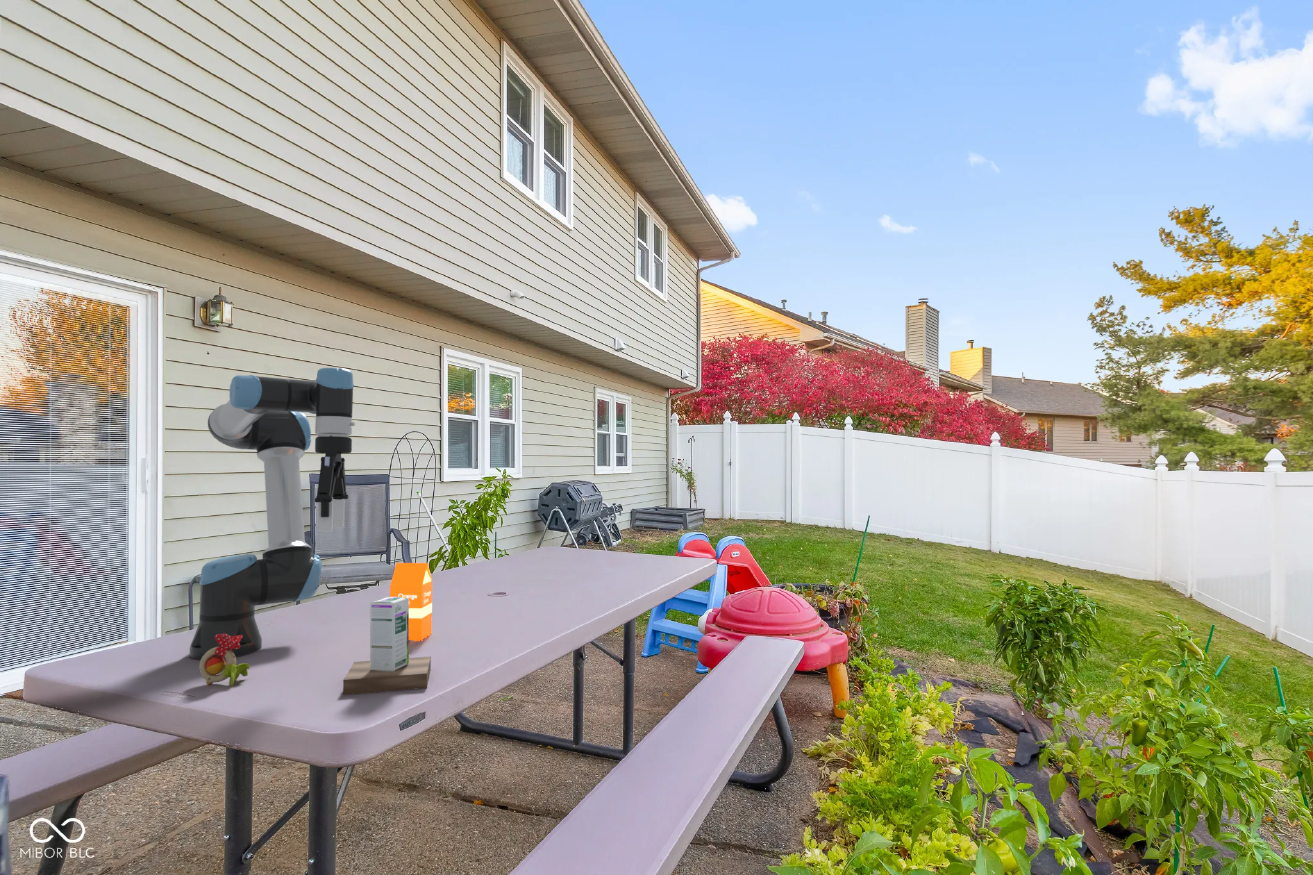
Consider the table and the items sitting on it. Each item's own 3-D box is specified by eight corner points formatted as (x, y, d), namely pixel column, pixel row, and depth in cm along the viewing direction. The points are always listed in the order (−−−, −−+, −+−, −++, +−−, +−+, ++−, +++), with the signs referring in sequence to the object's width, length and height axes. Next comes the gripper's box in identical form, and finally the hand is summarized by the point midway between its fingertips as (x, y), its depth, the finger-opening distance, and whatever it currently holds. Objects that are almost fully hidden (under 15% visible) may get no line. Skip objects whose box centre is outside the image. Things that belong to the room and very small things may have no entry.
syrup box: (394, 672, 140) (395, 602, 140) (368, 670, 141) (370, 601, 141) (409, 664, 145) (410, 597, 146) (384, 662, 146) (385, 596, 147)
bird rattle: (202, 699, 138) (245, 680, 139) (180, 650, 138) (224, 631, 139) (217, 690, 144) (259, 671, 145) (197, 642, 144) (239, 624, 145)
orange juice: (421, 641, 177) (422, 565, 178) (388, 641, 177) (389, 564, 178) (431, 633, 184) (432, 560, 185) (400, 633, 185) (401, 560, 186)
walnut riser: (354, 675, 147) (354, 661, 147) (430, 669, 151) (430, 656, 151) (343, 694, 134) (343, 679, 135) (426, 688, 139) (427, 673, 139)
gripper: (341, 433, 141) (339, 534, 140) (360, 438, 165) (358, 524, 164) (302, 433, 139) (299, 535, 138) (327, 438, 163) (325, 525, 162)
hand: (331, 529), depth 151 cm, fingers open, 13 cm apart
